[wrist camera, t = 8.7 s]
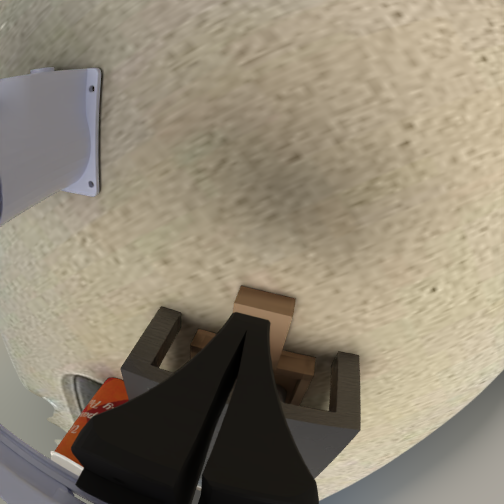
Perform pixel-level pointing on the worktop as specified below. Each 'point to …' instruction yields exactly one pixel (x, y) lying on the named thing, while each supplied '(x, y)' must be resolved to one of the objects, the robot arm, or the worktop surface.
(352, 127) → the worktop surface
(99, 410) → the paper cup
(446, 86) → the worktop surface
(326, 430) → the riser
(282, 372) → the tray
